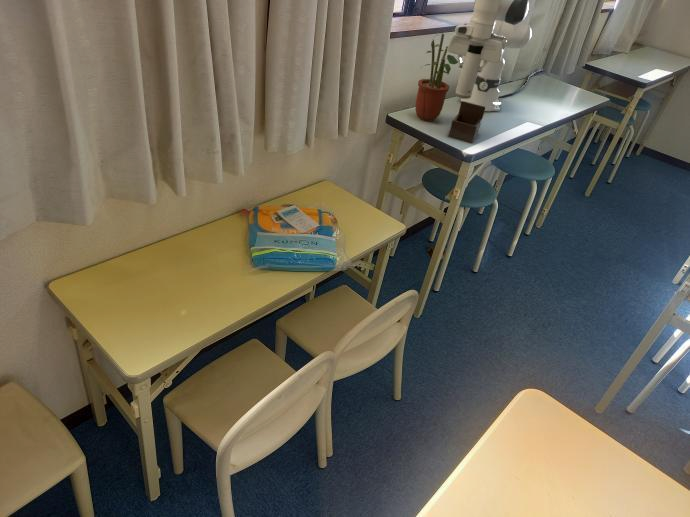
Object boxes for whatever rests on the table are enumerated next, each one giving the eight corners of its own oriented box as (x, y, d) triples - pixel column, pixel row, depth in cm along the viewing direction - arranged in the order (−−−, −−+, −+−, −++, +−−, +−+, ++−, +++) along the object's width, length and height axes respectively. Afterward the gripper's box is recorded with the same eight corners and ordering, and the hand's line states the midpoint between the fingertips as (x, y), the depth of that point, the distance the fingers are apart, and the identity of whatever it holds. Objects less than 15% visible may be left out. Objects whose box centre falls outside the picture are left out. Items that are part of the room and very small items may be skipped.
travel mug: (471, 100, 189) (487, 46, 177) (454, 96, 190) (469, 43, 178) (471, 95, 194) (486, 42, 182) (455, 91, 195) (469, 39, 182)
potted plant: (434, 126, 206) (455, 39, 185) (401, 116, 211) (418, 29, 190) (448, 116, 218) (470, 32, 197) (417, 106, 224) (435, 24, 203)
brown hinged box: (454, 128, 207) (462, 100, 200) (477, 134, 205) (485, 106, 197) (448, 136, 199) (455, 108, 192) (471, 143, 196) (480, 114, 189)
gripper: (509, 35, 177) (498, 74, 185) (455, 23, 182) (446, 61, 191) (507, 38, 172) (495, 78, 181) (451, 26, 178) (442, 65, 186)
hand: (469, 69), depth 186 cm, fingers closed on travel mug, 6 cm apart
